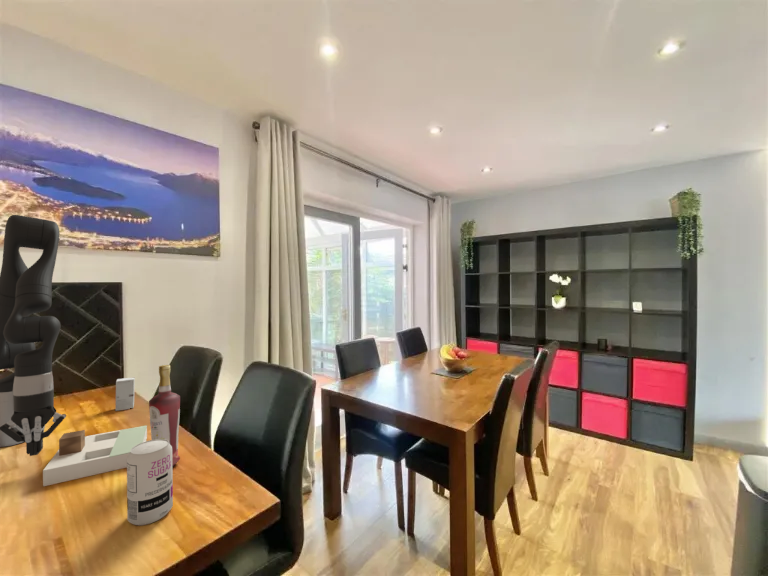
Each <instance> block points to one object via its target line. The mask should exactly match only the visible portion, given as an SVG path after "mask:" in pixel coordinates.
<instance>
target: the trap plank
mask: <svg viewBox="0 0 768 576" xmlns="http://www.w3.org/2000/svg"><path fill="white" fill-rule="evenodd" d="M147 439H148V425H140V426H136V427H130V428H123V429H119V430H113V431H108V432H101V433H97V434H92V435H91V434H90V435H85V446H84V448H83V449H82V451H81V452H77V453H72V454H67V455H62V456H59V449H58V450H57V451H56V453H55V454H53V455H54V456H52V458H51V459H50V461H49V462H48V464H46V466H45V467H44V469H43V470H42V486H43V487H47V486H50V485H51V486H52V485H56V484H60V483H64V482H68V481H73V480H77V479H82V478H85V477H90V476H94V475H95V476H96V475H101V474H104V473H108V472H111V471H112V472H113V471H116V470H121V469H127V457H128V455H129V453H130V451H131V449H132V448H133V447H134V446H136V445H138V444H140V443H143V442H146V441H147Z"/></svg>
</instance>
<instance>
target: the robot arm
mask: <svg viewBox="0 0 768 576" xmlns="http://www.w3.org/2000/svg"><path fill="white" fill-rule="evenodd" d="M4 229H5V230H4V239H3V253H2V262H1V267H0V268H1V269H0V371H1V370H7V369H14V371H13V372H12V373H10V374H8V375H6V376H5V377H2V378H0V448H3V447H11V446H15V445H19V444H21V443H25V444H26V445H25V447H26V451H25V452H26V454H27V455H29V457H31V456H38V455H39V453H40V452H41V451H42V450H43V448H44V439H45V438H49V436H50V435H52V433H53V432H54V431H55V430H56V428H58V426H60V424H61V423H62V422H63V421H64V420H65V419H66V417H67V414H65V413H63V414H61V413H59V412H57V409H56V408H55V404H54V397H55V396H54V391H55V389H54V376H53V352H54V348H55V345H56V342H57V339H58V337H59V335H60V331H61V328H62V327H61V321H60V320H59V319H58V318H57V317H55V316H53V315H42V316H41V315H40V316H31V315H33V314H38V313H42V312H46V311H48V310H49V309H50V308H51V307H52V303H53V302H52V301H53V299H52V297H53V293H52V288H53V287H52V286H53V275H54V271H55V265H56V261H57V254H58V250H59V249H58V248H59V244H60V243H59V241H60V227H59V225H58V223H57V222H56V221H53V220H49V219H44V218H37V217H33V216H28V215H27V216H26V215H20V214H12V215H10V216H9V217H8V218H7V220H6V223H5V227H4ZM20 248H27V249H35V250H43V251H42V253H41V255H40V257H39V258H38V259H37V260H36V261H35V262H34V263H33V264H32V265H31V266H30V267H27V265H26V264H25V262H24V260H23V257H22V256H21V252H20ZM35 343H42V344H41V345H40V346H39V347H38V348H36V344H35ZM52 418H53V419H52ZM51 419H52V422H53V423H52V424H51V426H49V427H48V429H47V430H45V428H46V425H47V424H48V423H49V422H50V420H51Z"/></svg>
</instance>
